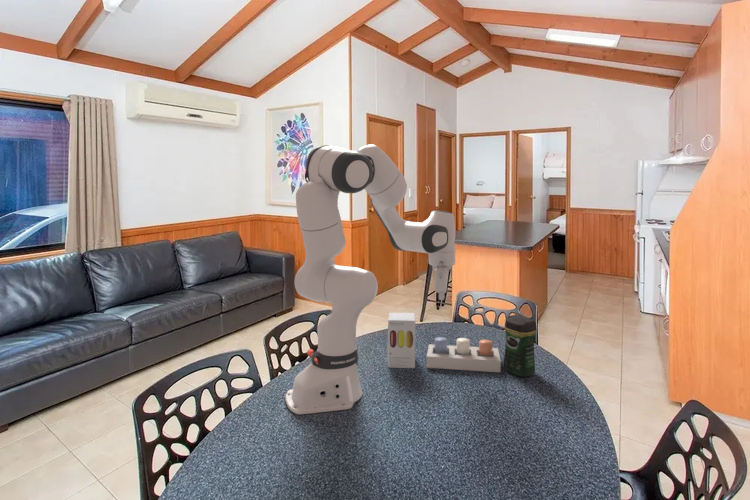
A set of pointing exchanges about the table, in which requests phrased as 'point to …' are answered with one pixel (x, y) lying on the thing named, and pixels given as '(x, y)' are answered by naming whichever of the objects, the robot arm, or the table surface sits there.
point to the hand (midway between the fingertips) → (441, 298)
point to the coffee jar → (519, 346)
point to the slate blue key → (440, 345)
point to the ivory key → (463, 345)
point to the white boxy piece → (463, 359)
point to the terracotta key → (485, 347)
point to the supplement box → (401, 340)
